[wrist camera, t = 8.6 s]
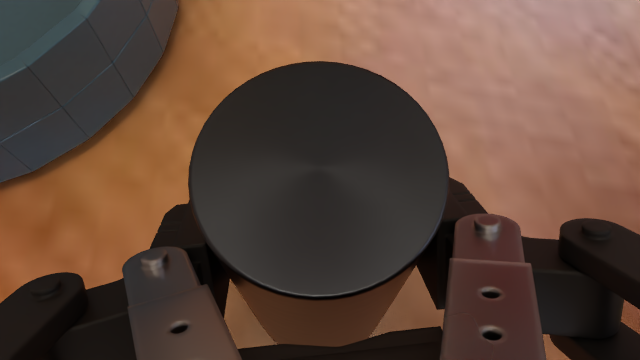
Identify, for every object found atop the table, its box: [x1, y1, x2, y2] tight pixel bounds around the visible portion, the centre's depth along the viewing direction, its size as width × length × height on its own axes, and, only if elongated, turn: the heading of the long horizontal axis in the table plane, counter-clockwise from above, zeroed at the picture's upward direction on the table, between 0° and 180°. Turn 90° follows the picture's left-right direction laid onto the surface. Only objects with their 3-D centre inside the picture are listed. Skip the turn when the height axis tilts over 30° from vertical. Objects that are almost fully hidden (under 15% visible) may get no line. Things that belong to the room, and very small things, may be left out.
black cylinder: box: [188, 61, 449, 347], centre depth 15 cm, size 5×5×10 cm
